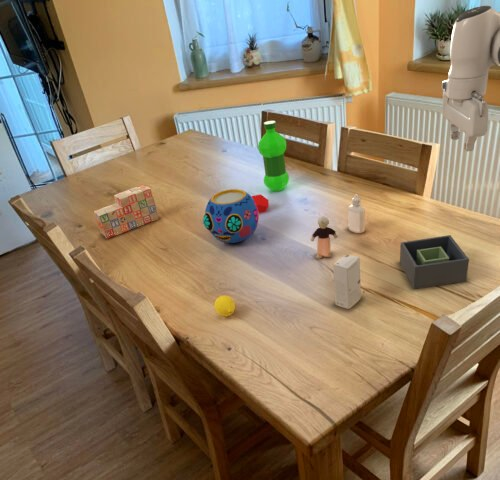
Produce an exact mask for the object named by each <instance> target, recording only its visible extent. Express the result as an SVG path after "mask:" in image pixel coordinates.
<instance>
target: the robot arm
mask: <svg viewBox="0 0 500 480" xmlns="http://www.w3.org/2000/svg"><path fill="white" fill-rule="evenodd" d="M449 59H450V68H449V71H448V75H447V79H445V80H442V83H441V90H442V91H443V92H442V115H443V118H444V119H446V120H447V121H448V122H449V131H450V139H451V140H452V141H458V140H459V139H460V135H461V134H460V131H462V132H463V133H464V134H466V138H467V139H466V142H464V148H463V149H464V151H466V152H472V151H473V150H474V149H475V148H474V147H475V144H476V141H477V139H478V138H480V137H484V136H486V134H487V132H488V126H489V104H488V102H487V101H486V100H485V96H484V95H486V93H487V88H488V80H489V71H490V68H491V67H494V66H498V67H500V11H497V10H496V9H494V8H493V7H492V6H491V5H480V6H476V7H472V8H470V9H467V10H465V11H463V12H462V13H461V14H460V15H458V17H457V18H456V20H455V21H454V24H453V28H452V32H451V40H450V48H449Z"/></svg>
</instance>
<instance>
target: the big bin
mask: <svg viewBox="0 0 500 480" xmlns="http://www.w3.org/2000/svg"><path fill="white" fill-rule="evenodd" d="M434 247H442V249H443V250H444V251H445V253H446V254H447V256H448V257H449V261H445V262H438V263H431V264H424V265H416V257H417V250H421V249H427V248H434ZM399 265H400V266H401V267H402V270H403V272H404V274H405V276H406V278H407V280H408V281H409V283H410V285H411V287H412V289H413V290H416V289H423V288H430V287H431V288H432V287H438V286H445V285H451V284H458V283H465V282H467V278H468V272H469V271H468V270H469V265H470V259H469V257H468V256H467V255H466V254H465V252H464V251H463V250H462V248H461V247H460V245H459V244H458V243H457V242H456V240H455V239H454V238H453V237H452V235H441V236H436V237H435V236H434V237H427V238H421V239H416V240H407V241H402V242H400V247H399Z"/></svg>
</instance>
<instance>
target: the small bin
mask: <svg viewBox="0 0 500 480" xmlns="http://www.w3.org/2000/svg"><path fill="white" fill-rule="evenodd" d="M445 261H449V257H448V256H447V254H446V253H445V251H444V250H443V249H442V247H434V248H427V249H421V250H417V257H416V265H424V264H431V263H438V262H445Z"/></svg>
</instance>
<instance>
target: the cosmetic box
mask: <svg viewBox="0 0 500 480" xmlns="http://www.w3.org/2000/svg"><path fill="white" fill-rule="evenodd" d="M360 259H361V258H360V256H355V255H352V254H347V253H345V254H344V255H343V256H342V257H339V259H338V260H337V261H336V262H335V263H333V265H332V269H333V283H334V284H333V285H334V303H335V305H336V306H338V307H340V308H343V309H347V310H349V309H351V308H352V307H354V306H355V305H356V304H357V303H358V302H359V301H360V300H361V299H362V289H361V260H360Z"/></svg>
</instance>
